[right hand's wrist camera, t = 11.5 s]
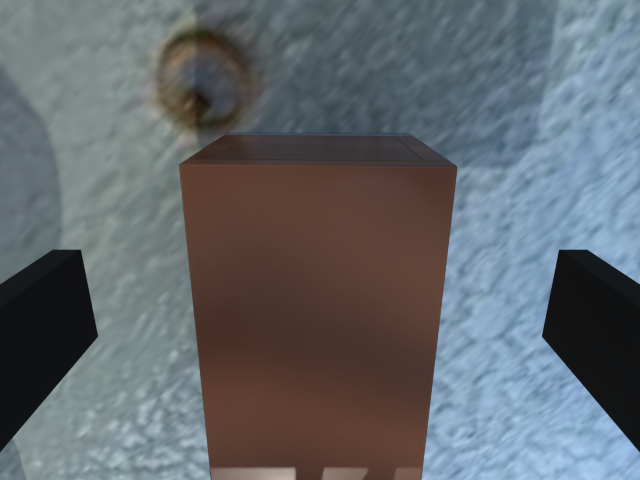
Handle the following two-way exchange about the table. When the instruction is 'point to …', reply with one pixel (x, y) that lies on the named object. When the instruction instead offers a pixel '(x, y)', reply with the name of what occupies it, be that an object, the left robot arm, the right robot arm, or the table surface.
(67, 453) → the table surface
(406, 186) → the cabinet
